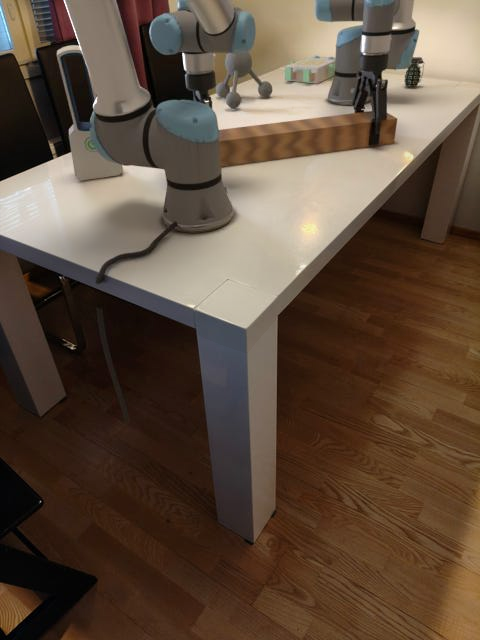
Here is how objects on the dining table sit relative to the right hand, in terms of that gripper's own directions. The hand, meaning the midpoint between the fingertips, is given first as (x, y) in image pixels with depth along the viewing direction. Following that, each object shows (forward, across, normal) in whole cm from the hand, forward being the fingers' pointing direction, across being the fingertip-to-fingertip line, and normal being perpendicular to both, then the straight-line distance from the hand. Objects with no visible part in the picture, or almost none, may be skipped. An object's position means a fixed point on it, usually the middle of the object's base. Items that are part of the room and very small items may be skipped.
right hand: (365, 138), depth 141 cm
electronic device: (+1, +2, +76) cm, 76 cm away
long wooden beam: (+1, 0, +23) cm, 23 cm away
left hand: (0, 0, +47) cm, 47 cm away
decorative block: (+1, +83, -15) cm, 85 cm away
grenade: (+1, +51, -43) cm, 67 cm away
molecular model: (+1, +59, +21) cm, 62 cm away
